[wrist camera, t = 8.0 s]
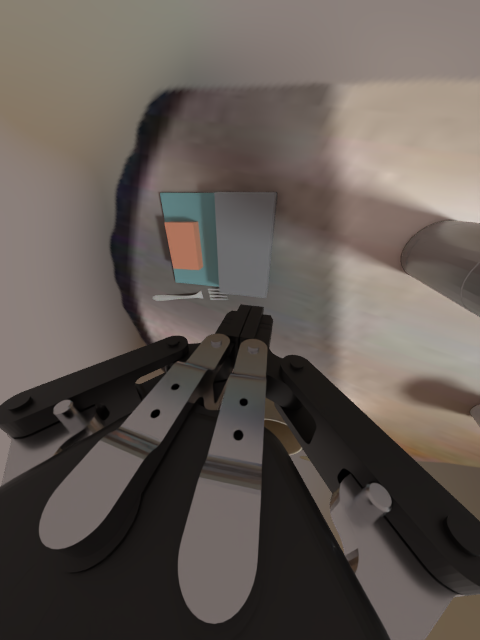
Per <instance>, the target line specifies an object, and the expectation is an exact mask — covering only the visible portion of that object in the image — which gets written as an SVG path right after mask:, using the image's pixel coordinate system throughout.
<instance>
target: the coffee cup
mask: <svg viewBox="0 0 480 640" xmlns="http://www.w3.org/2000/svg"><path fill="white" fill-rule="evenodd" d="M470 414H471V415H472V417H473V418H474V420H475V421H476V422H477V424H478V425H479V427H480V404H479V405H476V406H474V407H473V408H472V409H471V410H470Z"/></svg>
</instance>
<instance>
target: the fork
mask: <svg viewBox="0 0 480 640" xmlns="http://www.w3.org/2000/svg"><path fill="white" fill-rule="evenodd" d="M208 290H219V289H215V288H209V289H208ZM211 293H218V294H224V293H219V292H210V291H209V294H211ZM210 297H228V296H223V295H210ZM182 298H202V299H203V296H202V293H201V291H200V292H198V293H197V294H195V295H190V296H177V295H156V296H154V297H153V299H154V300H156V301H163V300H172V299H182ZM211 300H228V299H224V298H211Z"/></svg>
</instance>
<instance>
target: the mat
mask: <svg viewBox="0 0 480 640" xmlns="http://www.w3.org/2000/svg"><path fill="white" fill-rule="evenodd" d="M160 196H161V202H162V207H163V213H164V219H165V222H171V221H172V222H198V225H199V233H200V242H201V251H202V260H203V268H201V269H200V270H188V269H174V275H175V281H176V282H179V283H189V284H199V285H209V286H218V287H219V275H218V255H217V235H216V215H215V195H214V193H160Z"/></svg>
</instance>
